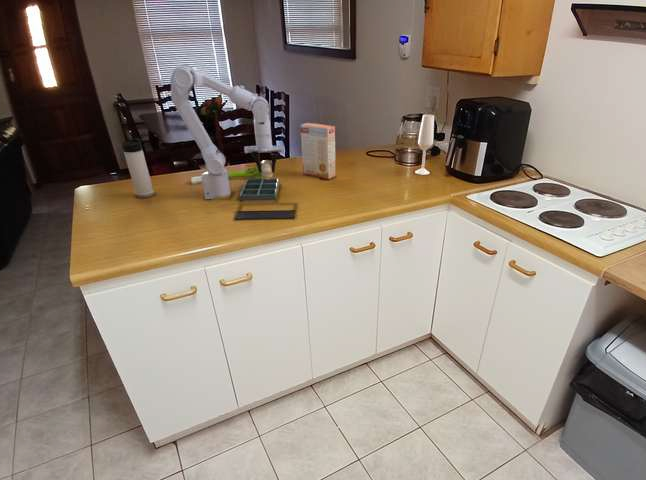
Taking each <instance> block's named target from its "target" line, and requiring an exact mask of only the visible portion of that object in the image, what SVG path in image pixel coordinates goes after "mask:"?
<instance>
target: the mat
mask: <svg viewBox="0 0 646 480" xmlns="http://www.w3.org/2000/svg"><path fill="white" fill-rule="evenodd" d="M295 216H296V210H295V209H288V210H287V209H286V210H283V209H282V210H281V209H280V210H278V209H277V210H238V211H237V213H236V215H235V217H234V221H246V220H247V221H251V220H295Z"/></svg>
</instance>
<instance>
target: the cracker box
mask: <svg viewBox="0 0 646 480" xmlns="http://www.w3.org/2000/svg"><path fill="white" fill-rule="evenodd" d="M300 140H301V141H300V143H301V158H302V159H301V161H302V175H304V176H315V177H319V178H321V179H324V180H330V179H333V178H335V177H336V126H335V125H327V124H321V123H312V122H306V123H301V124H300Z"/></svg>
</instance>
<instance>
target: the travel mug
mask: <svg viewBox="0 0 646 480" xmlns="http://www.w3.org/2000/svg"><path fill="white" fill-rule="evenodd" d="M121 147H122V150H123V154H124V157H125V161H126V165H127V167H128V168H127V169H128V171H129V174H130V178H131V182H132V185H133V189H134V191H135V195H136V197H137V198H141V199H146V198H150V197H153V196H154V195H155V192H154V187H153V184H152V180H151V176H150V172H149V169H148V166H147V161H146V158H145V153H144V151H143V148H142V144H141V139H139V138H134V139H129V140H125V141H123V142H122V143H121Z"/></svg>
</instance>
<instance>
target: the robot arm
mask: <svg viewBox="0 0 646 480" xmlns="http://www.w3.org/2000/svg"><path fill="white" fill-rule="evenodd" d="M169 82H170V91H171V92H170V98H171V99H170V100H171V101H172V104H173V106H174V107H175V109H176V111H177V112H178V114H179V115H180V118H181V119H182V121H183V122H184V124H185V126H186V127H187V129H188V131H189V133H190V135H191V136H192V138H193V139H194V141H195V143H196V145H197V147H198V148H199V150H200V152H201V156H202V159H203V160H204V163H205V169H206V172H202V174H201V176H202V188H203V189H202V190H203V194H204V200H214V199H215V198H224V197H228V196H230V195H231V186H230V178H228V173H229V172H228V170H227V168H226V167H225V165H226V163H227V162H226V161H227V160H226V156H225V155H224V154H223V152H221V151H220V150H219V149H218V147H217V146H216V145H215V144H214V143H213V142H212V139H211V137H210V136H209V134H208V132H207V130H206V129H205V127H204V125H203V123H202V121H201V119H200V118H199V116H198V114H197V112H196V111H195V109H194V107H193V105H192V104H191V102H190V100H189V97H190V95H191V91H192V88H193V87H195V88H197V87H206V88H209V89H211V90H213V91H216V92H218V93H220V94H222V95H224V96H227V97H228V98H229V100H230V102H231V103H232V104H234V105H236V106H239V107H240V108H242V109H244V110H246V111H248V112H249V111H251V112H252V114H253V127H254V136H255V145H249V146H248V145H247V146H244V148H243V149H244V154H248V153H249V154H250V153H251V157H252V159H253V162H255V165H256V166H257V167H258V169H259V173H261V163H262V162H261V153H271V154H270V158H271V163H272V172H273V174H275V171H276V163H277V159H278V156H279V153H281V154H285V153H286V149H285V146H284V145H280V146H279V145H273V140H272V129H271V120H270V114H269V113H270V108H269V102H268V100H267V99H266V98H264V97H263V96H261V95H259V94H258V93H254V92H253V93H252V92H251V91H249V90H247V89H245V86H244V85H240V86H239V85H234V86H231V85H229V84H227V83H225V82H224V81H222V80H220V79H218V78H216V77H215V76H212V75H211V74H209V73H207V72H205V71H203V70H201V69H198V68H196V67H192V66H190V65H189V64H182V65H180V66H177V67H175V68H174V69H173V71H172V73H171V76H170V78H169Z"/></svg>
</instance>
